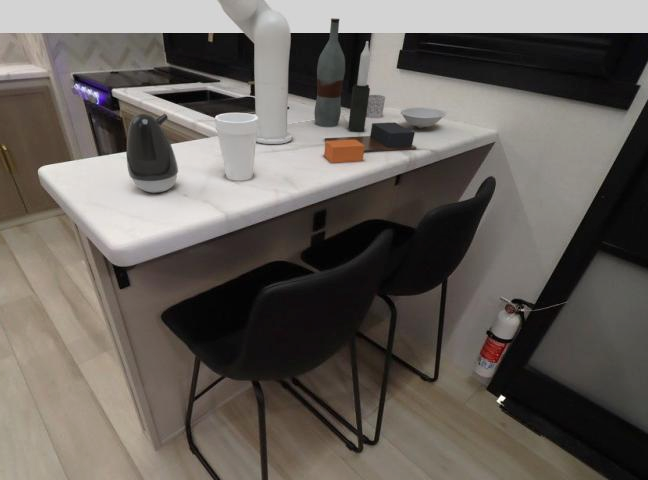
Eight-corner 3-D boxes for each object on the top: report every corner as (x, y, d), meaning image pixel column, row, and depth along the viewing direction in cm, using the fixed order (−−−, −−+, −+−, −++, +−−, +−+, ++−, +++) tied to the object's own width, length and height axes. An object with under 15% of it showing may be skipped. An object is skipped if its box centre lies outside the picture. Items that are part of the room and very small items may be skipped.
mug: (375, 113, 150) (378, 94, 146) (385, 116, 145) (388, 97, 141) (354, 114, 147) (356, 95, 142) (363, 118, 142) (365, 98, 138)
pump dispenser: (190, 188, 84) (180, 113, 75) (149, 201, 78) (132, 122, 68) (164, 176, 89) (152, 105, 80) (123, 188, 83) (105, 112, 74)
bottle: (308, 122, 135) (314, 17, 116) (327, 119, 139) (335, 18, 121) (325, 128, 129) (334, 19, 110) (345, 125, 133) (356, 19, 115)
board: (341, 153, 107) (341, 151, 106) (324, 140, 117) (324, 138, 117) (416, 149, 112) (416, 147, 112) (393, 136, 123) (394, 134, 122)
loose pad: (331, 162, 100) (333, 147, 98) (323, 156, 105) (325, 140, 102) (362, 160, 102) (364, 145, 100) (353, 154, 107) (355, 139, 104)
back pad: (387, 147, 111) (390, 133, 108) (370, 136, 120) (372, 123, 117) (411, 146, 112) (415, 132, 110) (392, 135, 121) (395, 122, 119)
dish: (425, 136, 124) (429, 119, 121) (388, 127, 132) (391, 112, 129) (450, 127, 134) (454, 112, 131) (414, 120, 142) (417, 105, 139)
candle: (364, 132, 126) (377, 41, 111) (349, 131, 126) (360, 41, 111) (362, 128, 130) (374, 40, 115) (347, 127, 130) (357, 40, 115)
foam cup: (222, 184, 86) (217, 123, 78) (217, 170, 93) (212, 113, 85) (263, 181, 88) (262, 121, 80) (254, 168, 95) (253, 112, 87)
